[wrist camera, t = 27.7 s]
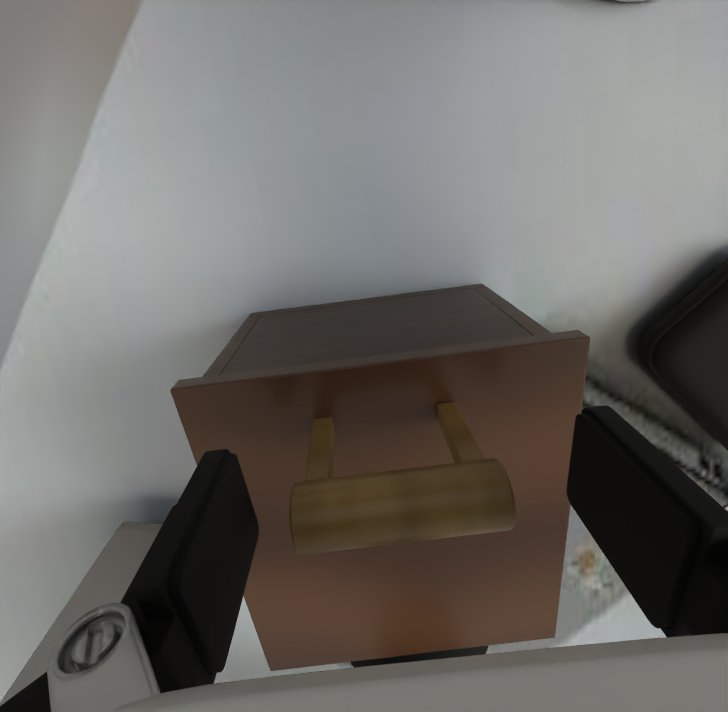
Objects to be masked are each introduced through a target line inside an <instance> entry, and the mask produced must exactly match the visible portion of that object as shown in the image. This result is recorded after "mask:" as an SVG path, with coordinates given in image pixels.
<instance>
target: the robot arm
mask: <svg viewBox="0 0 728 712" xmlns="http://www.w3.org/2000/svg"><path fill="white" fill-rule="evenodd" d="M617 1H622V2H635V1H649V0H617ZM566 492H567V497H568V500H569V502H570V504H571V505H572V507H573V508H574V510H575V511H576V513H577V514H578V516H579V517H580V519H581V520H582V522H583V523H584V525H585V526H586V528H587V529H588V531H589V532H590V534H591V535H592V537H593V538H594V540H595V541H596V543H597V544H598V546H599V547H600V549H601V550H602V552H603V553H604V555H605V556H606V558H607V559H608V561H609V562H610V564H611V565H612V566H613V568H614V569H615V571H616V572H617V574H618V575H619V577H620V578H621V580H622V581H623V583H624V584H625V586H626V587H627V589H628V590H629V592H630V593H631V595H632V596H633V598H634V599H635V601H636V602H637V604H638V605H639V607H640V608H641V610H642V611H643V613H644V614H645V616H646V617H647V619H648V620H649V621H650V623H651V624H652V625H653V626H654V627H656V628H661V629H662V631H663V632H664V634H665V635H666V638H653V639H641V640H630V641H620V642H609V643H598V644H588V645H577V646H566V647H556V648H545V649H535V650H524V651H514V652H504V653H494V654H484V655H474V656H464V657H454V658H444V659H434V660H424V661H414V662H404V663H394V664H385V665H375V666H366V667H356V668H347V669H338V670H328V671H319V672H309V673H300V674H290V675H281V676H272V677H265V678H257V679H249V680H241V681H233V682H225V683H217V684H214V680H215V676H216V673H218V672H221V671H222V670H223V669H224V666H225V663H226V660H227V656H228V652H229V648H230V644H231V641H232V637H233V633H234V629H235V625H236V621H237V618H238V614H239V610H240V606H241V602H242V598H243V595H244V591H245V587H246V583H247V579H248V575H249V571H250V568H251V564H252V560H253V556H254V552H255V548H256V545H257V541H258V537H259V524H258V520H257V517H256V514H255V511H254V508H253V504H252V501H251V498H250V495H249V492H248V489H247V486H246V482H245V479H244V476H243V473H242V470H241V467H240V463H239V460H238V457H237V455H236V454H234V453H233V454H231V453H230V451H229V450H228V449H221V450H213V451H207V452H205V453H204V455H203V456H202V458H201V460H200V462H199V464H198V466H197V468H196V469H195V471H194V473H193V475H192V477H191V479H190V481H189V482H188V484H187V486H186V488H185V490H184V492H183V494H182V495H181V497H180V499H179V501H178V503H177V504H176V505H175V506H173V508H172V509H171V511H170V512H169V514H168V516H167V518H166V519H165V521H164V523H163V525H162V527H161V529H160V530H159V532H158V534H157V536H156V538H155V540H154V541H153V543H152V545H151V547H150V549H149V551H148V552H147V554H146V556H145V558H144V560H143V562H142V563H141V565H140V567H139V569H138V571H137V573H136V574H135V576H134V578H133V580H132V582H131V584H130V585H129V587H128V589H127V591H126V593H125V595H124V596H123V598H122V600H121V602H120V603H109V604H105V605H102V606H99V607H97V608H95V609H93V610H91V611H89V612H87V613H86V614H84V615H83V616H82V617H80V618H79V619H78V620H76V621H75V622H74V623H73V624H72V625H71V626H70V627H69V628H68V629H67V630H66V631H65V632H64V633H63V634H62V635H61V637H60V638H59V640H58V641H57V643H56V644H55V645H54V647H53V649H52V652H51V654H50V656H49V658H48V665H47V672H45V673H44V674H43V675H41V676H40V677H39V678H37V679H36V680H35V681H33V682H32V683H31V684H29V685H28V686H26V687H25V688H24V689H22V690H21V691H20V692H18V693H17V694H16V695H14V696H13V697H12V698H10V699H9V700H8V701H6V702H5V703H4V704H2V705H1V706H0V712H728V511H727V510H725V509H724V508H723V507H722V506H721V505H720V504H719V503H718V502H716V501H715V500H714V499H713V498H712V497H711V496H710V495H709V494H707V493H706V492H705V491H704V490H703V489H702V488H701V487H700V486H698V485H697V484H696V483H695V482H694V481H693V480H692V479H691V478H689V477H688V476H687V475H686V474H685V473H684V472H683V471H682V470H680V469H679V468H678V467H677V466H676V465H675V464H674V463H673V462H671V461H670V460H669V459H668V458H667V457H666V456H665V455H664V454H663V453H661V452H660V451H659V450H658V449H657V448H656V447H655V446H654V445H652V444H651V443H650V442H649V441H648V440H647V439H646V438H645V437H643V436H642V435H641V434H640V433H639V432H638V431H637V430H636V429H634V428H633V427H632V426H631V425H630V424H629V423H628V422H627V421H625V420H624V419H623V418H622V417H621V416H620V415H619V414H618V413H616V412H615V411H614V410H613V409H612V408H611V407H609V406H597V407H588V408H584V409H583V410H582V412H581V414H578V415H577V416H576V419H575V426H574V433H573V441H572V449H571V457H570V464H569V472H568V480H567V488H566Z"/></svg>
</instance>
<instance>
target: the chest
mask: <svg viewBox="0 0 728 712" xmlns="http://www.w3.org/2000/svg"><path fill="white" fill-rule="evenodd" d="M550 333H551V332H550V331H548V330H547V329H546V328H544V327H543V326H541V325H540V324H539V323H537V322H536V321H534V320H533V319H531V318H530V317H529V316H527V315H526V314H524V313H523V312H522V311H520V310H519V309H517V308H516V307H514V306H513V305H512V304H510V303H509V302H507V301H506V300H505V299H503V298H502V297H500V296H499V295H498V294H496V293H495V292H493V291H492V290H490V289H489V288H488V287H486V286H484V285H483V284H478V285H470V286H463V287H455V288H447V289H439V290H431V291H423V292H415V293H407V294H399V295H392V296H384V297H376V298H368V299H360V300H352V301H344V302H336V303H329V304H321V305H313V306H305V307H297V308H289V309H281V310H273V311H266V312H258V313H251V314H250V315H249V317H248V318H247V319H246V320H245V322H244V323H243V324H242V326H241V327H240V328H239V330H238V331H237V332H236V334H235V335H234V336H233V337H232V339H231V340H230V341H229V343H228V344H227V345H226V347H225V348H224V349H223V351H222V352H221V353H220V354H219V356H218V357H217V358H216V360H215V361H214V362H213V364H212V365H211V366H210V368H209V369H208V370H207V371H206V373H205V374H204V375H203V377H207V376H215V375H223V374H231V373H239V372H247V371H255V370H263V369H271V368H279V367H287V366H295V365H303V364H311V363H319V362H327V361H335V360H343V359H351V358H359V357H367V356H375V355H383V354H391V353H399V352H407V351H415V350H423V349H431V348H439V347H447V346H455V345H463V344H470V343H478V342H486V341H494V340H502V339H510V338H518V337H526V336H534V335H542V334H550Z"/></svg>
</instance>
